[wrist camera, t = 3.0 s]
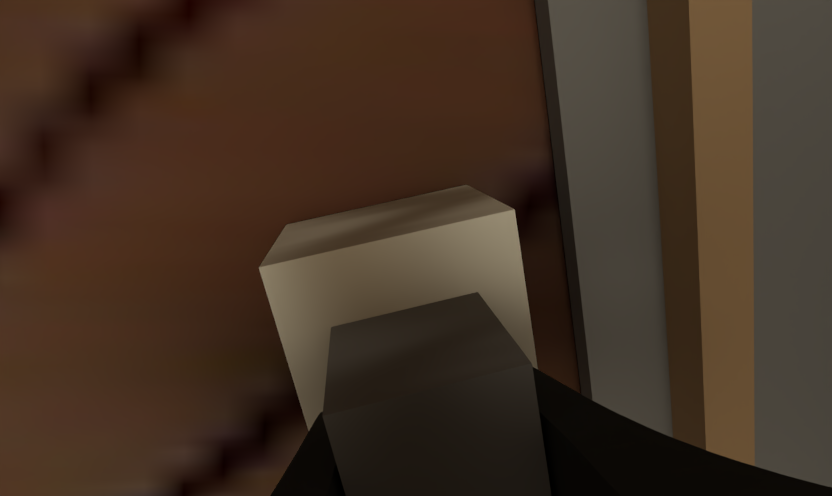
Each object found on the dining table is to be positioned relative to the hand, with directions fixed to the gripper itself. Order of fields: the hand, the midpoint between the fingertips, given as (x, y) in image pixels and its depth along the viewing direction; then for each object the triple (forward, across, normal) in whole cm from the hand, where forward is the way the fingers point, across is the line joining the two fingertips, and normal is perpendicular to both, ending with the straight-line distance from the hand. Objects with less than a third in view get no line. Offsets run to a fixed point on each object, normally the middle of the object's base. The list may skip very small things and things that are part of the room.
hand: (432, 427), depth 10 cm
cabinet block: (+4, 0, 0) cm, 4 cm away
